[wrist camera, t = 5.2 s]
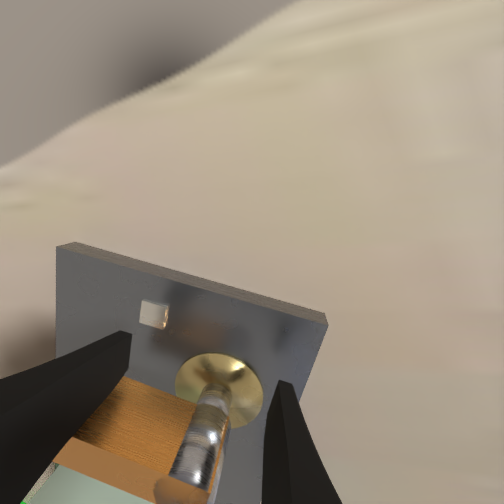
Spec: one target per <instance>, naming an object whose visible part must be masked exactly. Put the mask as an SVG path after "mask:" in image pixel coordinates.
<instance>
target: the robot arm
mask: <svg viewBox="0 0 504 504" xmlns="http://www.w3.org/2000/svg"><path fill="white" fill-rule="evenodd" d="M131 342H132V334H131V333H128V332H125V331H121V330H120V331H117V332H115V333H113V334H111V335H108V336H106V337H104V338H102V339H100V340H97V341H95V342H93V343H91V344H89V345H86V346H84V347H82V348H80V349H78V350H75V351H73V352H71V353H69V354H66V355H64V356H61V357H59V358H56V359H54V360H51V361H49V362H47V363H44V364H42V365H39V366H37V367H34V368H31V369H29V370H26V371H23V372H20V373H17V374H15V375H12V376H9V377H6V378H3V379H0V504H20V503H21V502H22V500H23V499H24V498H25V496H26V495H27V494H28V492H29V491H30V490H31V488H32V487H33V486H34V484H35V483H36V482H37V480H38V479H39V478H40V476H41V475H42V474H43V472H44V471H45V470H46V468H47V467H48V466H49V465H50V463H51V462H52V461H53V459H54V458H55V457H56V455H57V454H58V453H59V452H60V450H61V449H62V448H63V447H64V446H65V444H66V443H67V442H68V441H69V440H70V439H71V437H72V436H73V435H74V434H75V433H76V432H77V431H78V430H79V428H80V427H81V426H82V425H83V424H84V423H85V422H86V421H87V419H88V418H89V417H90V416H91V415H92V414H93V413H94V412H95V410H96V409H97V408H98V407H99V406H100V405H101V404H102V402H103V401H104V400H105V399H106V398H107V397H108V396H109V394H110V393H111V392H112V391H113V390H114V388H115V387H116V386H117V384H118V383H119V382H120V380H121V379H122V377H123V376H124V374H125V373H126V371H127V370H128V368H129V359H130V350H131ZM261 504H342V502H341V500H340V498H339V496H338V494H337V492H336V490H335V488H334V486H333V484H332V482H331V480H330V478H329V476H328V474H327V472H326V470H325V468H324V466H323V464H322V461H321V459H320V457H319V454H318V452H317V450H316V448H315V445H314V443H313V440H312V438H311V435H310V433H309V430H308V428H307V425H306V422H305V420H304V417H303V414H302V411H301V408H300V405H299V402H298V399H297V396H296V393H295V389H294V386H293V384H292V383H288V382H285V381H282V380H278V383H277V386H276V389H275V392H274V395H273V398H272V401H271V404H270V407H269V410H268V413H267V418H266V426H265V434H264V446H263V473H262V502H261Z"/></svg>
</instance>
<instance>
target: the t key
mask: <svg viewBox="0 0 504 504" xmlns="http://www.w3.org/2000/svg"><path fill="white" fill-rule="evenodd" d="M231 403H232V394H231V392H230V390H229V389H228V388H227V387H225V386H224V385H221V384H218V383H210V384H207V385H206V386H205V387H204V388H203V389H202V392H201V394H200V397H199V399H198V401H197V404H195V403H192V402H190V401H187V400H185V399H182V398H179V397H177V396H174V395H172V394H169V393H167V392H164V391H161V390H159V389H156V388H154V387H151V386H148V385H146V384H143V383H141V382H138V381H135V380H133V379H130V378H128V377H125V376H123V377H122V379H121V380H120V382H119V383H118V384H117V386H116V387H115V388H114V390H113V391H112V392H111V393H110V394H109V396H108V397H107V398H106V399H105V400H104V401H103V402H102V404H101V405H100V406H99V407H98V408H97V409H96V410H95V412H94V413H93V414H92V415H91V416H90V417H89V418H88V419H87V421H86V422H85V423H84V424H83V425H82V426H81V427H80V428H79V430H78V431H77V432H76V433H75V434H74V435H73V436H72V437H71V439H70V440H69V441H68V442H67V443H66V444H65V446H64V447H63V448H62V449H61V450H60V452H59V453H58V454H57V455H56V457H55V458H54V459H53V461H52V462H55V463H57V464H60V465H62V466H64V467H67V468H69V469H72V470H74V471H77V472H79V473H81V474H84V475H86V476H89V477H91V478H94V479H96V480H98V481H101V482H103V483H106V484H108V485H111V486H113V487H115V488H118V489H120V490H123V491H125V492H127V493H130V494H132V495H135V496H137V497H140V498H142V499H144V500H147V501H149V502H152V503H154V504H214V502H215V498H216V493H217V489H218V485H219V480H220V476H221V471H222V467H223V463H224V458H225V454H226V450H227V445H228V441H229V436H230V432H231V422H230V419H229V416H228V415H229V411H230V407H231Z"/></svg>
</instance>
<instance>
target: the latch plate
mask: <svg viewBox="0 0 504 504" xmlns="http://www.w3.org/2000/svg"><path fill="white" fill-rule="evenodd" d="M327 328H328V322H327V319H326V316H325V313H321V312H318V311H314V310H311V309H307V308H304V307H300V306H297V305H293V304H290V303H287V302H283V301H280V300H276V299H273V298H269V297H266V296H262V295H259V294H255V293H252V292H248V291H245V290H241V289H238V288H234V287H231V286H227V285H224V284H220V283H217V282H213V281H210V280H206V279H203V278H199V277H196V276H192V275H189V274H185V273H182V272H178V271H175V270H171V269H168V268H164V267H161V266H157V265H154V264H150V263H147V262H143V261H140V260H136V259H133V258H130V257H126V256H123V255H119V254H116V253H112V252H109V251H105V250H102V249H98V248H95V247H91V246H88V245H84V244H81V243H77V242H73V243H69V244H65V245H61V246H56V358H59V357H61V356H64V355H66V354H69V353H71V352H73V351H75V350H78V349H80V348H82V347H84V346H86V345H89V344H91V343H93V342H95V341H97V340H100V339H102V338H104V337H106V336H108V335H111V334H113V333H115V332H117V331H120V330H121V331H125V332H128V333H131V334H132V342H131V350H130V359H129V368H128V370H127V371H126V373H125V374H124V376H125V377H128V378H130V379H133V380H135V381H138V382H141V383H143V384H146V385H148V386H151V387H154V388H156V389H159V390H161V391H164V392H167V393H169V394H172V395H174V396H177V397H179V398H182V399H185V400H187V401H190V402H192V403H195V404H197V401H198V399H199V397H200V394H201V392H202V389H203V388H204V387H205V386H206V385H207V384H210V383H218V384H221V385H224V386H225V387H227V388H228V389H229V390H230V392H231V394H232V403H231V407H230V411H229V415H228V416H229V419H230V422H231V432H230V436H229V441H228V445H227V450H226V454H225V458H224V463H223V467H222V471H221V476H220V480H219V485H218V489H217V493H216V498H215V502H214V504H260V502H261V499H262V473H263V446H264V434H265V426H266V418H267V413H268V410H269V407H270V404H271V401H272V398H273V395H274V392H275V389H276V386H277V383H278V380H282V381H285V382H288V383H292V384H293V386H294V389H295V393H296V396H297V399H298V402H299V401H300V398H301V395H302V393H303V390H304V388H305V385H306V382H307V380H308V377H309V375H310V372H311V369H312V367H313V364H314V362H315V359H316V357H317V354H318V351H319V349H320V346H321V344H322V341H323V338H324V336H325V333H326V331H327ZM59 465H60V464H57V463H55V470H56V469H57V467H58V466H59Z"/></svg>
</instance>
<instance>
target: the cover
mask: <svg viewBox="0 0 504 504" xmlns="http://www.w3.org/2000/svg"><path fill="white" fill-rule="evenodd" d="M28 503H29V504H154V503H152V502H149V501H147V500H144V499H142V498H140V497H137V496H135V495H132V494H130V493H127V492H125V491H123V490H120V489H118V488H115V487H113V486H111V485H108V484H106V483H103V482H101V481H98V480H96V479H94V478H91V477H89V476H86V475H84V474H81V473H79V472H77V471H74V470H72V469H69V468H67V467H64V466H62V465H59V466H58V467H57V469H56V470H55V471H54V472H53V473H52V475H51V476H50V477H49V478H48V479H47V481H46V482H45V483H44V484H43V486H42V487H41V488H40V489H39V490H38V492H37V493H36V494H35V495H34V496H33V498H32V499H31V500H30V501H29V502H28Z"/></svg>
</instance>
